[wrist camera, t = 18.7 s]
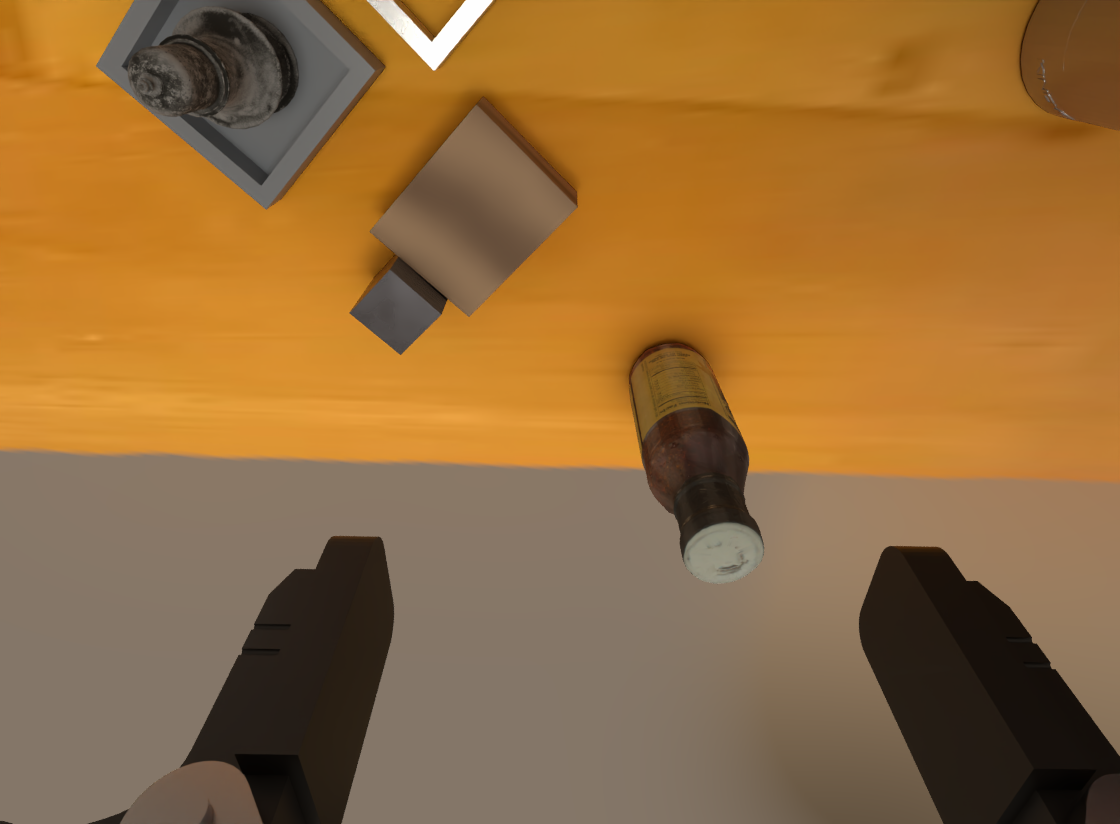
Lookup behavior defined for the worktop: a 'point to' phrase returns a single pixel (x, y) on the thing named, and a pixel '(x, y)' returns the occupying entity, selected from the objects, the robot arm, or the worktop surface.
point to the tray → (288, 135)
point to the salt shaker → (217, 69)
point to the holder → (420, 37)
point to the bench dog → (399, 305)
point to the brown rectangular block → (476, 209)
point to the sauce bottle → (695, 461)
